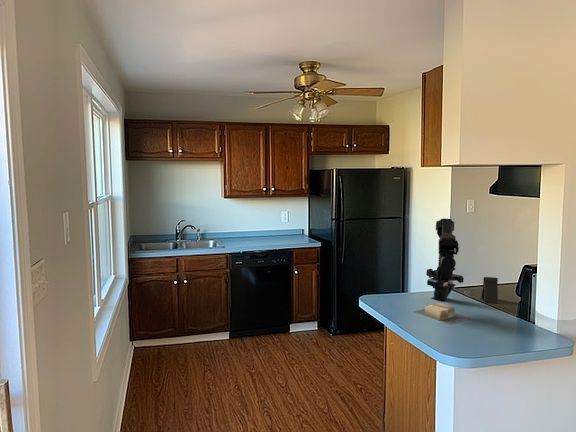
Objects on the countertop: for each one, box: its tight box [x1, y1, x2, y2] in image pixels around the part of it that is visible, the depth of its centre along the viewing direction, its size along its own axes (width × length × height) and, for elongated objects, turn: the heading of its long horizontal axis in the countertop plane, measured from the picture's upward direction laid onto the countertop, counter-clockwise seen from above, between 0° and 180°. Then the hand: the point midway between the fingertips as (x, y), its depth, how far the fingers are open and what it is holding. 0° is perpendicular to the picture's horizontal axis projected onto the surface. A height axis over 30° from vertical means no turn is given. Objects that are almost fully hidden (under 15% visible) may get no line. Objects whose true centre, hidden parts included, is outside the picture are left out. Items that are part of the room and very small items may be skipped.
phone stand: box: [480, 276, 499, 304], centre depth 230 cm, size 9×6×12 cm, turn 170°
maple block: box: [424, 302, 455, 321], centre depth 205 cm, size 4×8×10 cm
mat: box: [413, 308, 472, 326], centre depth 206 cm, size 15×20×1 cm
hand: (444, 299), depth 206 cm, fingers closed
